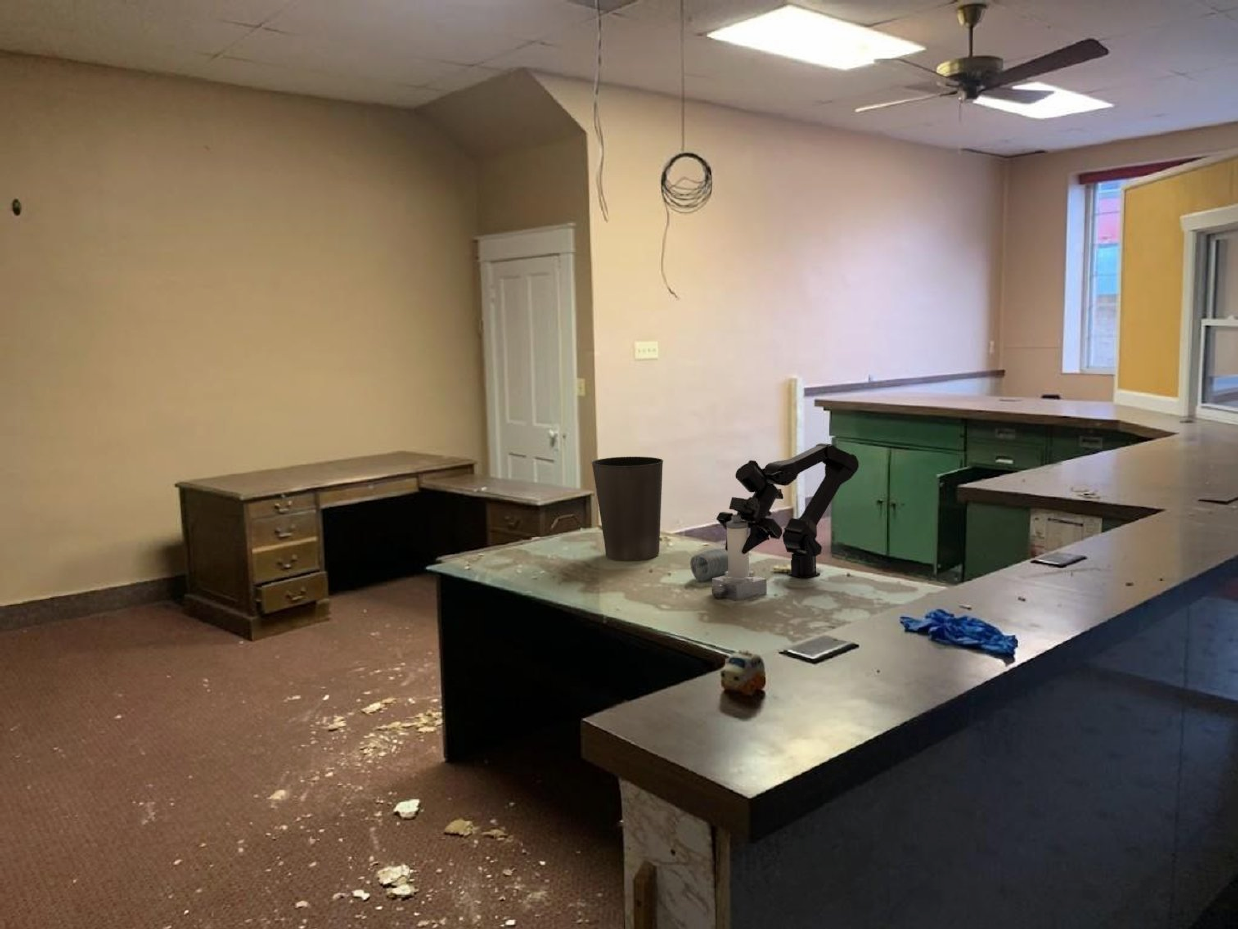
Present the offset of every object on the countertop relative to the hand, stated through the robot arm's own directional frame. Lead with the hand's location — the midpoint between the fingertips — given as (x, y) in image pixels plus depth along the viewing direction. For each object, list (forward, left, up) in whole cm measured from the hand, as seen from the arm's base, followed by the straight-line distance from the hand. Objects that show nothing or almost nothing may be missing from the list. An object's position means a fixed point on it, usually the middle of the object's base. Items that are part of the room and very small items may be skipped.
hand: (734, 551), depth 239 cm
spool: (-6, -17, -12) cm, 22 cm away
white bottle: (-1, 0, -7) cm, 7 cm away
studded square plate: (0, 0, -11) cm, 11 cm away
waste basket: (-5, -57, -12) cm, 59 cm away
